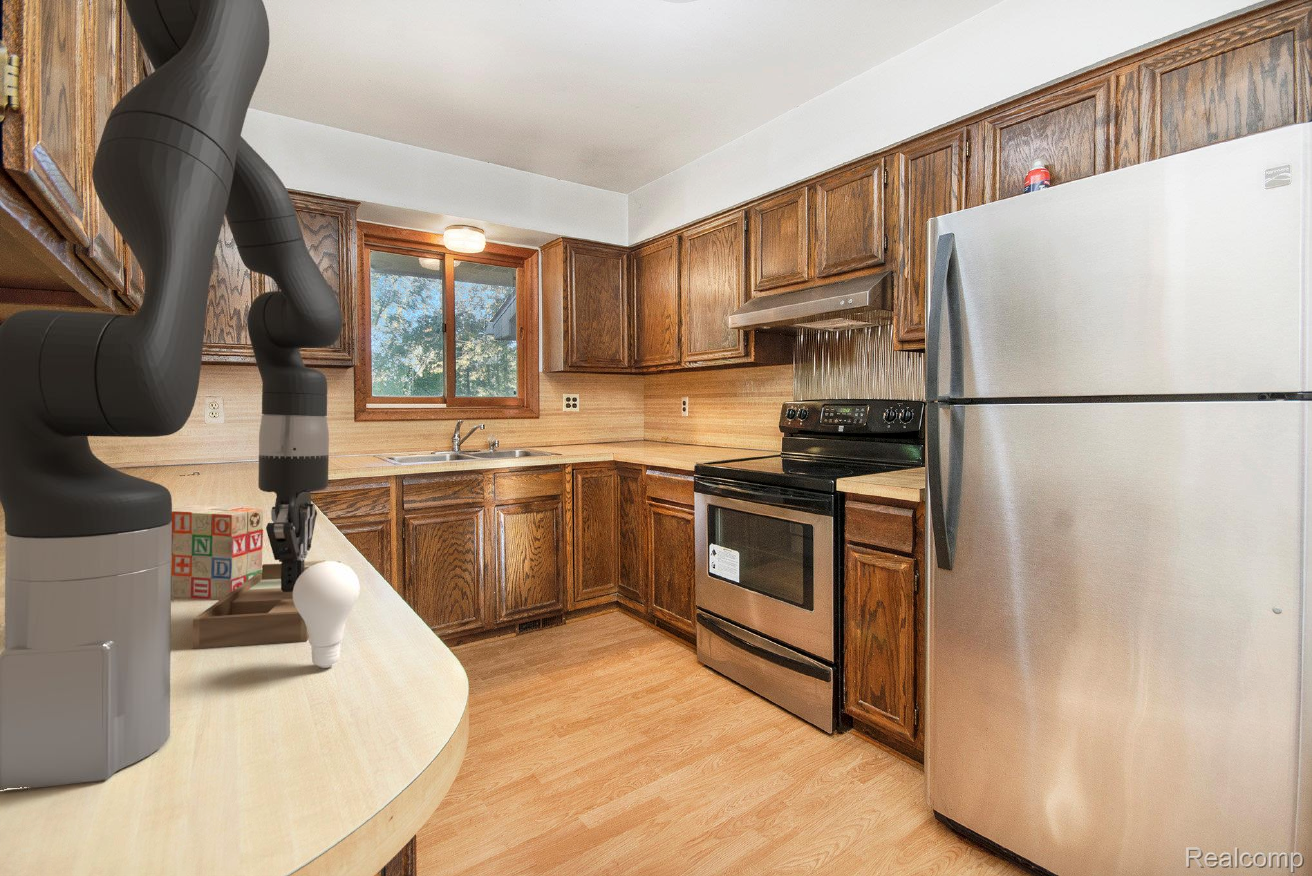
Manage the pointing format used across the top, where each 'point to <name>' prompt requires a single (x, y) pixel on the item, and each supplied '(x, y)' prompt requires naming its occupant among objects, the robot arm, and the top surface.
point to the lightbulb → (326, 607)
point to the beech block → (306, 565)
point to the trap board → (251, 615)
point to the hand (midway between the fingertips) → (292, 590)
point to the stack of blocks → (214, 549)
